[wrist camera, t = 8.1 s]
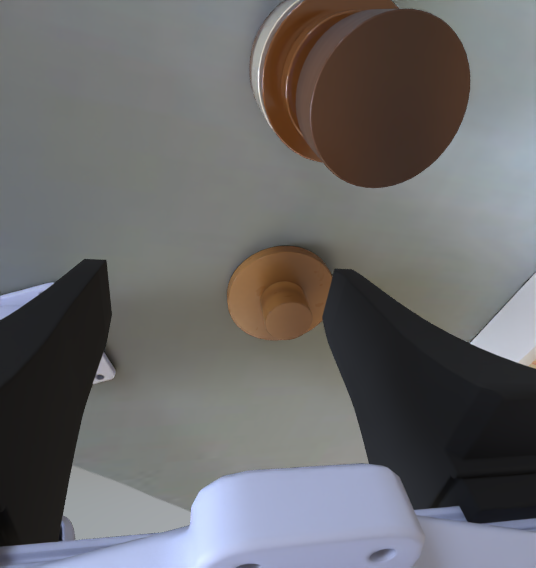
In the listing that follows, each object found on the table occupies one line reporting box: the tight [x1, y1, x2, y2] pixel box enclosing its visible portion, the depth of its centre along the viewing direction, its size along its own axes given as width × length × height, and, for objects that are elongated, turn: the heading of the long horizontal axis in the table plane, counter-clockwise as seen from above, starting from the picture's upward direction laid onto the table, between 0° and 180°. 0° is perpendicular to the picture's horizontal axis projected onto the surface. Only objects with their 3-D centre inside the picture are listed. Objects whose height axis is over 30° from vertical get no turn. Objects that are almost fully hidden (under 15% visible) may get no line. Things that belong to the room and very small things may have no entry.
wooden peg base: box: [227, 246, 332, 340], centre depth 24 cm, size 7×7×3 cm
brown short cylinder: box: [296, 9, 470, 188], centre depth 12 cm, size 5×5×2 cm
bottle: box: [249, 0, 399, 162], centre depth 16 cm, size 6×6×7 cm
